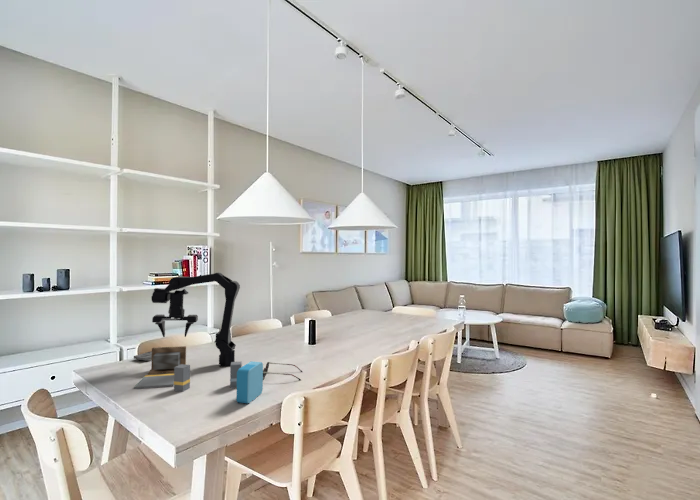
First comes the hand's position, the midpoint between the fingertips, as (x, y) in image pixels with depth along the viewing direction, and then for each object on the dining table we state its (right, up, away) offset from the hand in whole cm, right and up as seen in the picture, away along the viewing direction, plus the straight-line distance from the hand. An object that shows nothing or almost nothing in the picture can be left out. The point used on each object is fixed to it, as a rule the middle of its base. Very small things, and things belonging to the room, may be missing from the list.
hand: (174, 336), depth 173 cm
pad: (+4, -13, -22) cm, 26 cm away
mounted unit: (+1, -13, -8) cm, 16 cm away
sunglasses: (+53, -15, -13) cm, 57 cm away
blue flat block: (+45, -14, -38) cm, 61 cm away
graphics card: (-18, -14, +13) cm, 26 cm away
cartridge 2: (+36, -14, -25) cm, 47 cm away
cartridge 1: (+17, -13, -30) cm, 37 cm away
